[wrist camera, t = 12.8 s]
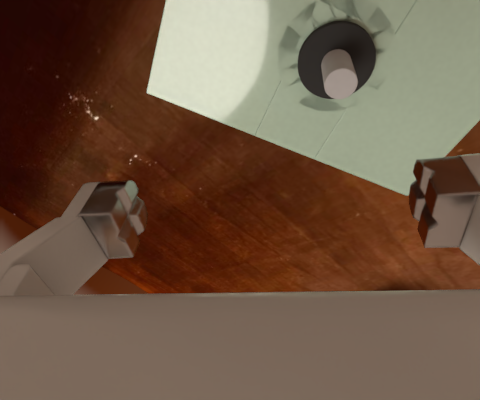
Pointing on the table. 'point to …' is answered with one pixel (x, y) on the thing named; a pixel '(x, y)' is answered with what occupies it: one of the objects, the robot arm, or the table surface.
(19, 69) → the table surface
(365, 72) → the stopper
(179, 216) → the table surface
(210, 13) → the drain plate
